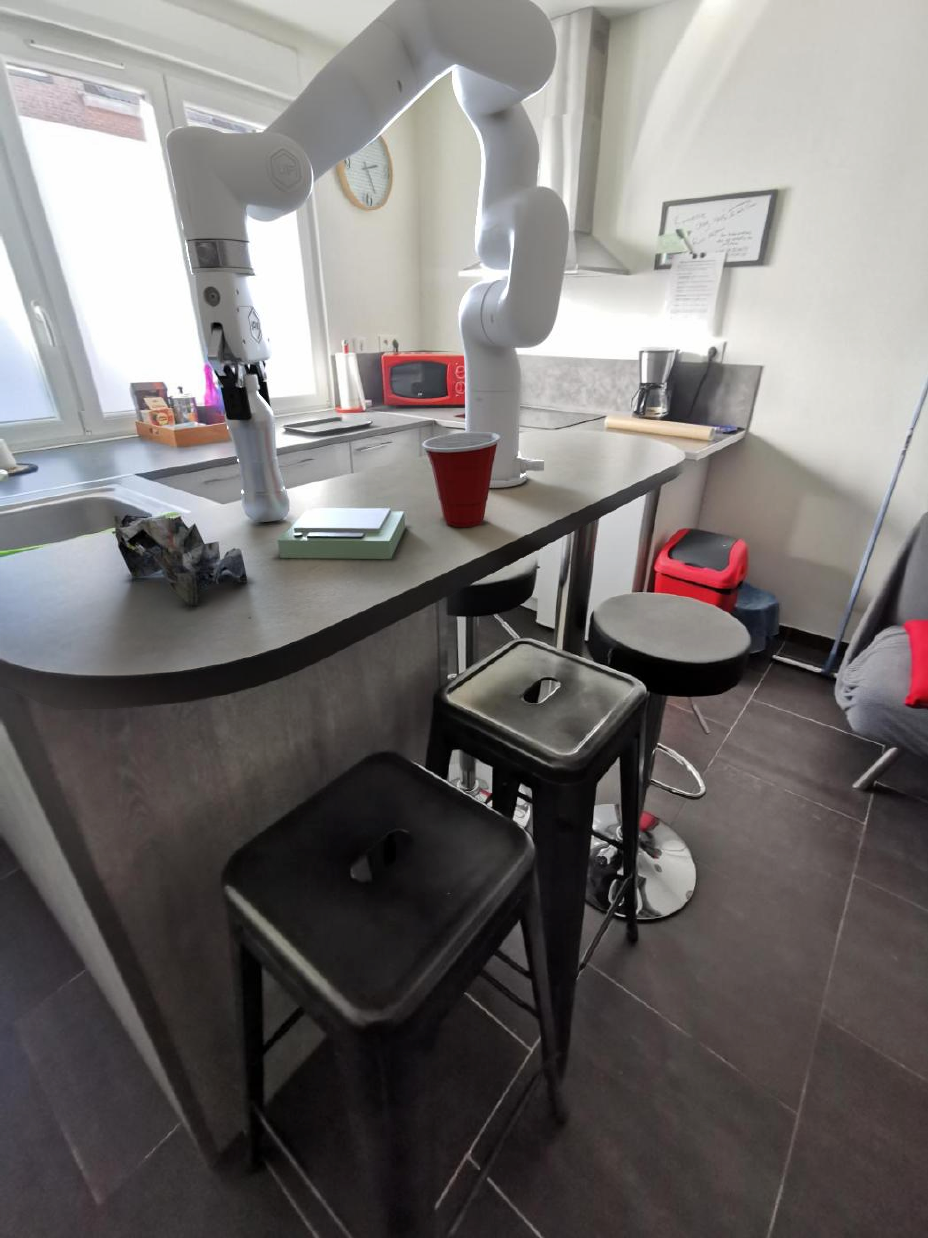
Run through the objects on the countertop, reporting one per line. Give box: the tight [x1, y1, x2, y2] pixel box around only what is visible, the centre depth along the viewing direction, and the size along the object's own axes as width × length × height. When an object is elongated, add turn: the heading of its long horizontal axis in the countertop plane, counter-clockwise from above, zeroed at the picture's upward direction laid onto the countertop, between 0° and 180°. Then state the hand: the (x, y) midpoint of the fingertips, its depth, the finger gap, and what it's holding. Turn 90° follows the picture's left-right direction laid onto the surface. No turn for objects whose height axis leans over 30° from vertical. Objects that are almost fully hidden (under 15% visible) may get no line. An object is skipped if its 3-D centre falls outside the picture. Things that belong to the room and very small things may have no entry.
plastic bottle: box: [224, 374, 290, 523], centre depth 80 cm, size 6×7×20 cm
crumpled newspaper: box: [111, 514, 248, 607], centre depth 63 cm, size 12×11×15 cm
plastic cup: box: [421, 431, 500, 528], centre depth 80 cm, size 11×11×12 cm
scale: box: [277, 507, 406, 560], centre depth 75 cm, size 14×12×3 cm
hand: (250, 414), depth 77 cm, fingers closed on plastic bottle, 6 cm apart
